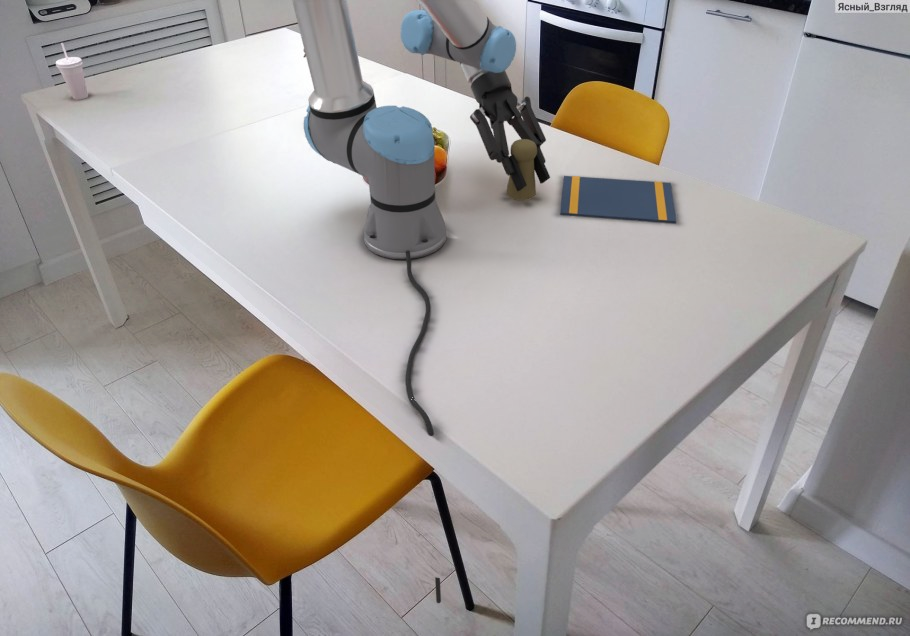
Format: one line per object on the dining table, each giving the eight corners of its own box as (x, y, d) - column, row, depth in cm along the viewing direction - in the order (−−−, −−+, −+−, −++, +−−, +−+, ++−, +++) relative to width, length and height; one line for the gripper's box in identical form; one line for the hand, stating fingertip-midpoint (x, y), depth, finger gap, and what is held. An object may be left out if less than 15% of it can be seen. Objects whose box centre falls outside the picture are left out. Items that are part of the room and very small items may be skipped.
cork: (534, 201, 141) (538, 149, 135) (504, 198, 142) (506, 146, 136) (537, 187, 146) (541, 136, 139) (508, 185, 147) (510, 134, 140)
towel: (675, 223, 136) (676, 220, 136) (560, 214, 139) (560, 212, 139) (670, 184, 149) (670, 182, 148) (564, 177, 152) (564, 175, 151)
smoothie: (89, 90, 196) (71, 38, 187) (96, 97, 192) (79, 44, 184) (64, 96, 193) (45, 43, 184) (72, 103, 189) (53, 49, 180)
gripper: (514, 78, 148) (559, 180, 147) (441, 95, 140) (487, 203, 139) (532, 58, 141) (579, 165, 140) (456, 76, 133) (505, 189, 132)
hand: (533, 184), depth 140 cm, fingers closed on cork, 5 cm apart
